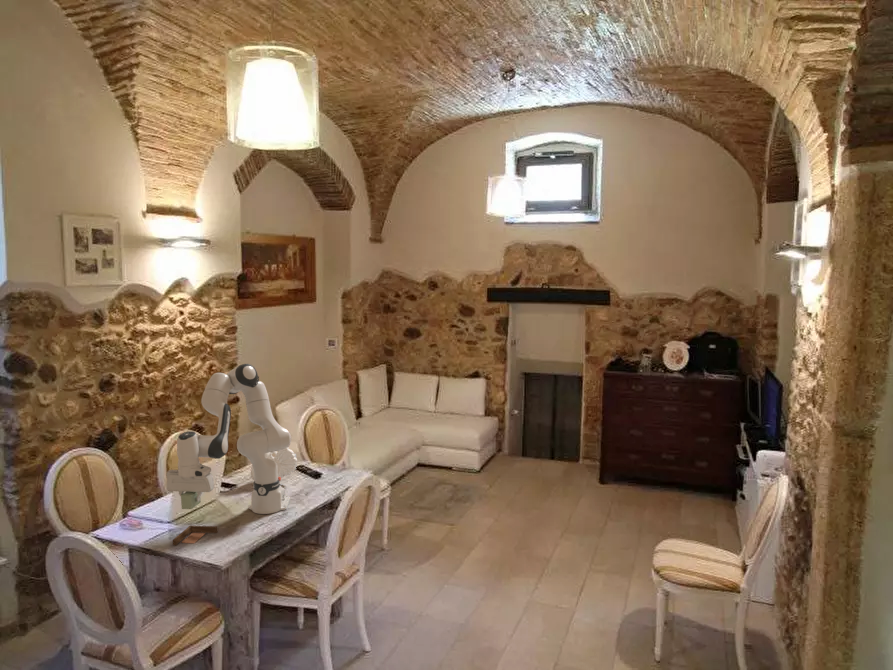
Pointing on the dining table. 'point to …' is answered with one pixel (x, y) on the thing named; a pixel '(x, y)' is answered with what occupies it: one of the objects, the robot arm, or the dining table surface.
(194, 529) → the brown flat wooden frame
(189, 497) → the sage block
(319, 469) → the dining table surface
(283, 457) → the decorative rooster
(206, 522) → the dining table surface
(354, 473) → the dining table surface
